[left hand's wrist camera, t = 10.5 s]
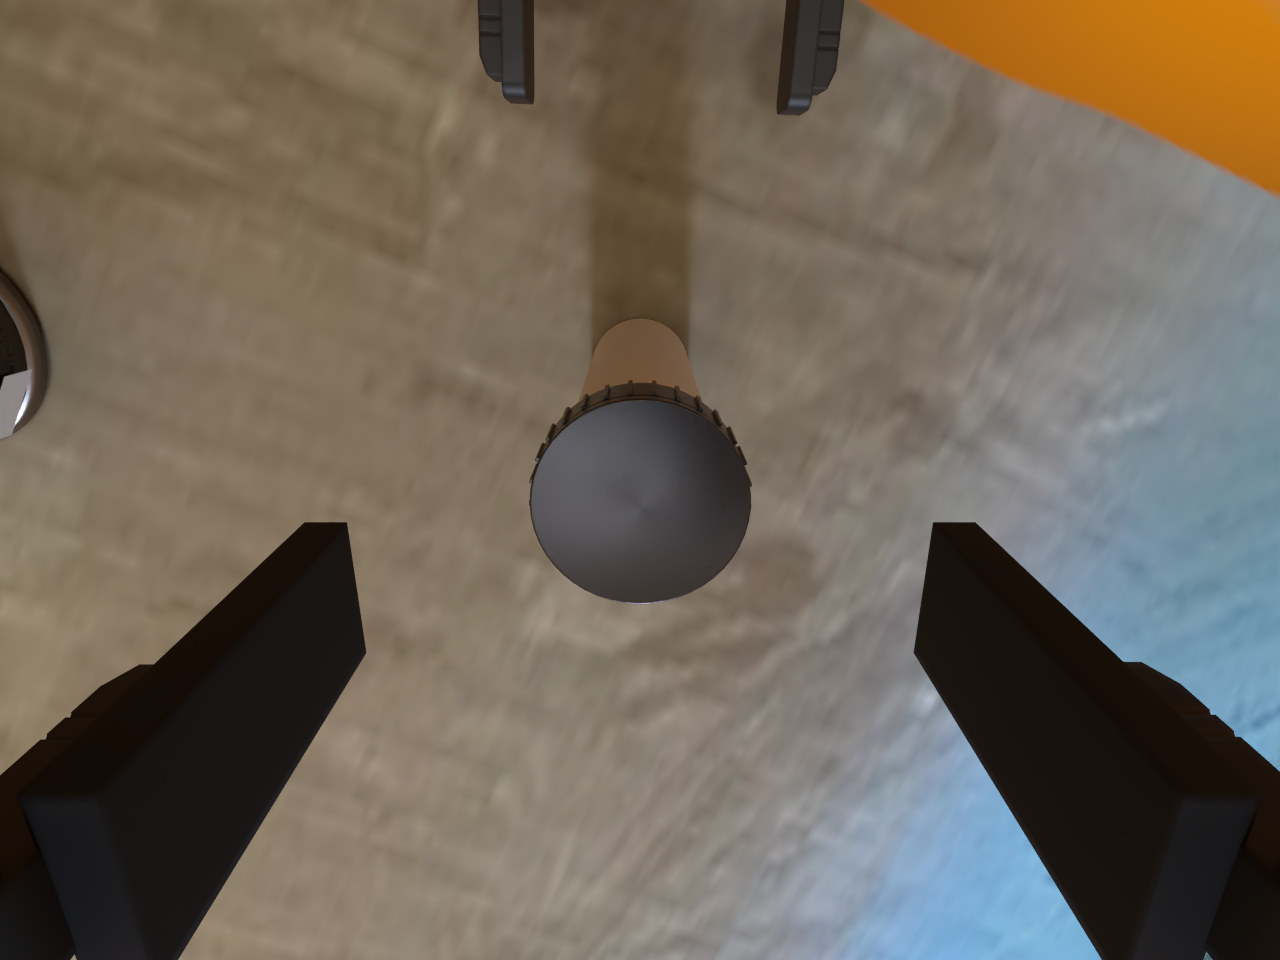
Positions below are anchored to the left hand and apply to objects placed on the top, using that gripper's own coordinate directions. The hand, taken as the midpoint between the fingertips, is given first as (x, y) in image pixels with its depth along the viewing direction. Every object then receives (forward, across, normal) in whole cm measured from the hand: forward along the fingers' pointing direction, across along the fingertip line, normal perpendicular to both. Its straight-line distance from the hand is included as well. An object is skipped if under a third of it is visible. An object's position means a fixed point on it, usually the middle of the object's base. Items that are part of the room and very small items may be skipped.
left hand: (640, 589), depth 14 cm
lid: (+4, 0, 0) cm, 4 cm away
